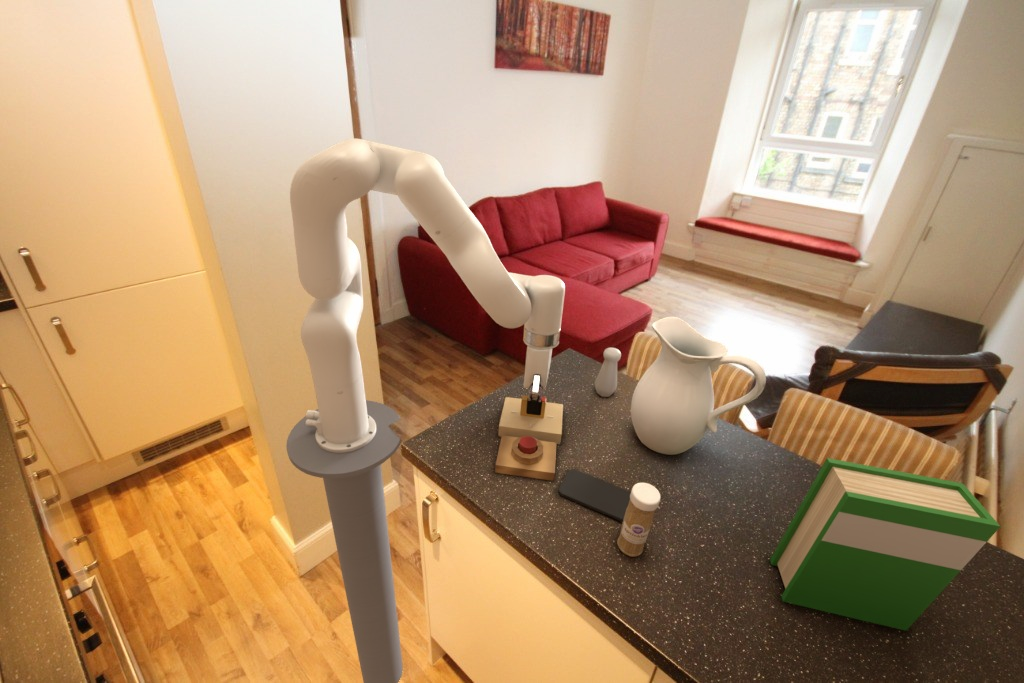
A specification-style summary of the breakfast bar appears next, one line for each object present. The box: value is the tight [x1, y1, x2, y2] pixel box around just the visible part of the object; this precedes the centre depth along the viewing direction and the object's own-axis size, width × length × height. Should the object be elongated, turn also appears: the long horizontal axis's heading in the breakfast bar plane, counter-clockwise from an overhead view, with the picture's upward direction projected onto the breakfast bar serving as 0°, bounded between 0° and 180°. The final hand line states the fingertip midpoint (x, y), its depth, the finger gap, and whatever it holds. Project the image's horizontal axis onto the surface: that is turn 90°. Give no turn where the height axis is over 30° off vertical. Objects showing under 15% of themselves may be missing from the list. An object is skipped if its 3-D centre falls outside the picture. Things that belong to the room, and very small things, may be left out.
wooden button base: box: [494, 435, 557, 482], centre depth 93 cm, size 12×9×4 cm
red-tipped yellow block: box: [520, 394, 547, 418], centre depth 102 cm, size 6×2×5 cm, turn 83°
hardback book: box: [769, 457, 1001, 631], centre depth 67 cm, size 18×7×24 cm, turn 78°
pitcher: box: [630, 316, 767, 456], centre depth 94 cm, size 24×17×28 cm
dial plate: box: [497, 396, 564, 445], centre depth 104 cm, size 14×11×3 cm
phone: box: [558, 468, 631, 523], centre depth 87 cm, size 7×1×15 cm
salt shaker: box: [594, 347, 622, 398], centre depth 115 cm, size 6×6×13 cm
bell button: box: [519, 436, 537, 454], centre depth 92 cm, size 4×4×2 cm
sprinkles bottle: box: [616, 482, 662, 558], centre depth 75 cm, size 5×5×13 cm
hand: (535, 400), depth 101 cm, fingers open, 9 cm apart
